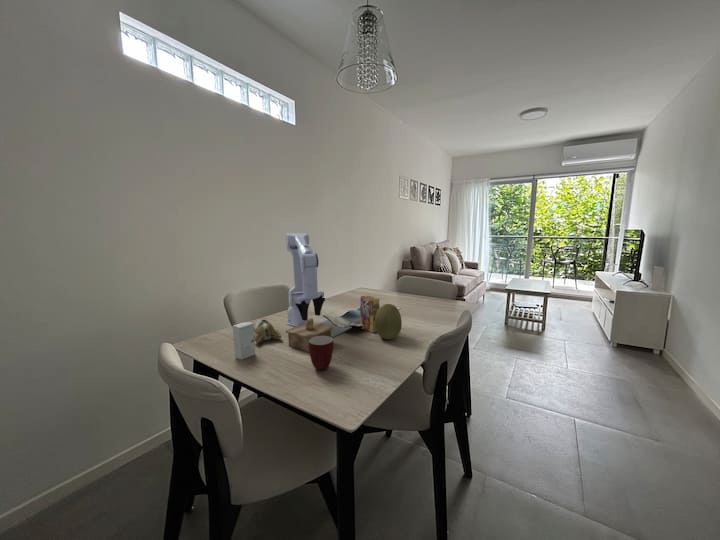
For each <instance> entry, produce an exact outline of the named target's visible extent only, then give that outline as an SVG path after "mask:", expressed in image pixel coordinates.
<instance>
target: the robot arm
mask: <svg viewBox="0 0 720 540" xmlns="http://www.w3.org/2000/svg"><path fill="white" fill-rule="evenodd" d="M285 243H286V250H287V251H288V252H290V254H291V260H292V272H293V275H292V276H293V287H291V288H290V289H289V290H288V305H289V307H288V309H287V322H286V325H288V326H292V327H297V326H299V325H301V324H304V323H306V320H307V319H308V318H309V315H308V314H309V313H308V311H309V307H310V304H311V303H313V310H314V315H315V316H321V313H322V309H323V308H322V307H323V306H324V303H325V301H326V298H325V292H324V291H318V268H319V255H318V253H317V252H314V251H313V249H312V247H311V246H310V245H309V244H310V235H309V233H308V232H287V233H286V236H285Z"/></svg>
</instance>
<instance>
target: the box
mask: <svg viewBox="0 0 720 540" xmlns="http://www.w3.org/2000/svg"><path fill="white" fill-rule="evenodd" d="M287 335H288V347H293V348H295V349H298V350H302V351H305V352H307V353H310V352H309V339H307V338H303V337H300V336H296V335H292V334H289V333H287ZM320 336H329V337H331V330H330V331H328V332H326V333H324V334H322V335H320ZM331 338H332V337H331Z"/></svg>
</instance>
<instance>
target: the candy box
mask: <svg viewBox="0 0 720 540" xmlns="http://www.w3.org/2000/svg"><path fill="white" fill-rule="evenodd" d="M379 308H380V298H379V297H375V296H371V295H367V294H364V295H361V296H360V323H361V324H363V325H364V326H363V327H362V328H361V329H362V330H365V331H368V332H370V333H373V334H374V333H377V331H376V329H375V316H376V313H377V311H378V309H379Z"/></svg>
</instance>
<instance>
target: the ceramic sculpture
mask: <svg viewBox="0 0 720 540" xmlns="http://www.w3.org/2000/svg"><path fill="white" fill-rule="evenodd" d="M253 325H254V342H255V343H256V344H257V343H258V344H260V343H262V342H263V341H269V340H271V339H272V338H273V339H276V340H277V339H282V335H281V332H280V331H279V329H275V328H274V326H273V325H272V324H271V323H270V322H269V320H268V319H263V318H261V317H259V319H257V321H256V322H255V324H253Z"/></svg>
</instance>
